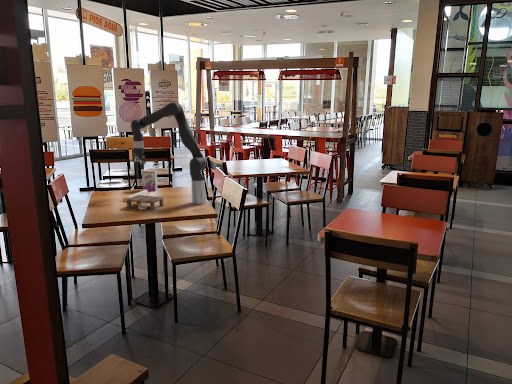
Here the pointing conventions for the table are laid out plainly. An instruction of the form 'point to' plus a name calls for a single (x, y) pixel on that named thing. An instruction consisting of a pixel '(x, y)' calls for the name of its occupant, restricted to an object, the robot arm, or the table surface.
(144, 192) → the long white slat
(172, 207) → the table surface
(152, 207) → the low walnut stand
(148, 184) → the candy bar box
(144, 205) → the steel token
